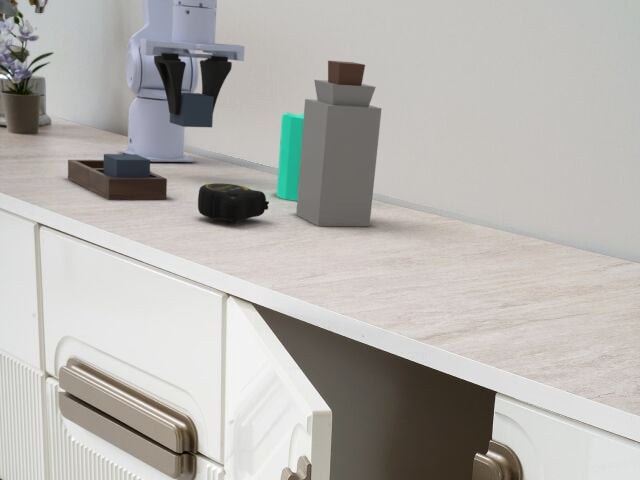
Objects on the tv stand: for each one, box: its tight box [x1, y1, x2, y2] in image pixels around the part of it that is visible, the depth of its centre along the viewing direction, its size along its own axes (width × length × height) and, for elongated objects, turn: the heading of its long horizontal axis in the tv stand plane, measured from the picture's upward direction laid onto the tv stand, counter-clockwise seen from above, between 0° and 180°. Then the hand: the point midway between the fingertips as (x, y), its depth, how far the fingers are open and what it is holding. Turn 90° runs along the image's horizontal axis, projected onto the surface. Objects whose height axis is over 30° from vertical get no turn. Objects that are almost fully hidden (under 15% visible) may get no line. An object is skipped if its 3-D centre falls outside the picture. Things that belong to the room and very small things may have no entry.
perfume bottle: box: [295, 60, 382, 227], centre depth 133 cm, size 7×7×18 cm
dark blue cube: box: [103, 153, 151, 178], centre depth 140 cm, size 4×4×4 cm
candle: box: [276, 112, 304, 202], centre depth 147 cm, size 6×6×12 cm
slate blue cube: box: [170, 92, 214, 128], centre depth 154 cm, size 4×4×4 cm
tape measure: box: [197, 182, 270, 224], centre depth 130 cm, size 7×7×4 cm
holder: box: [67, 159, 168, 201], centre depth 143 cm, size 14×8×2 cm, turn 31°
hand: (190, 114), depth 154 cm, fingers closed on slate blue cube, 4 cm apart
